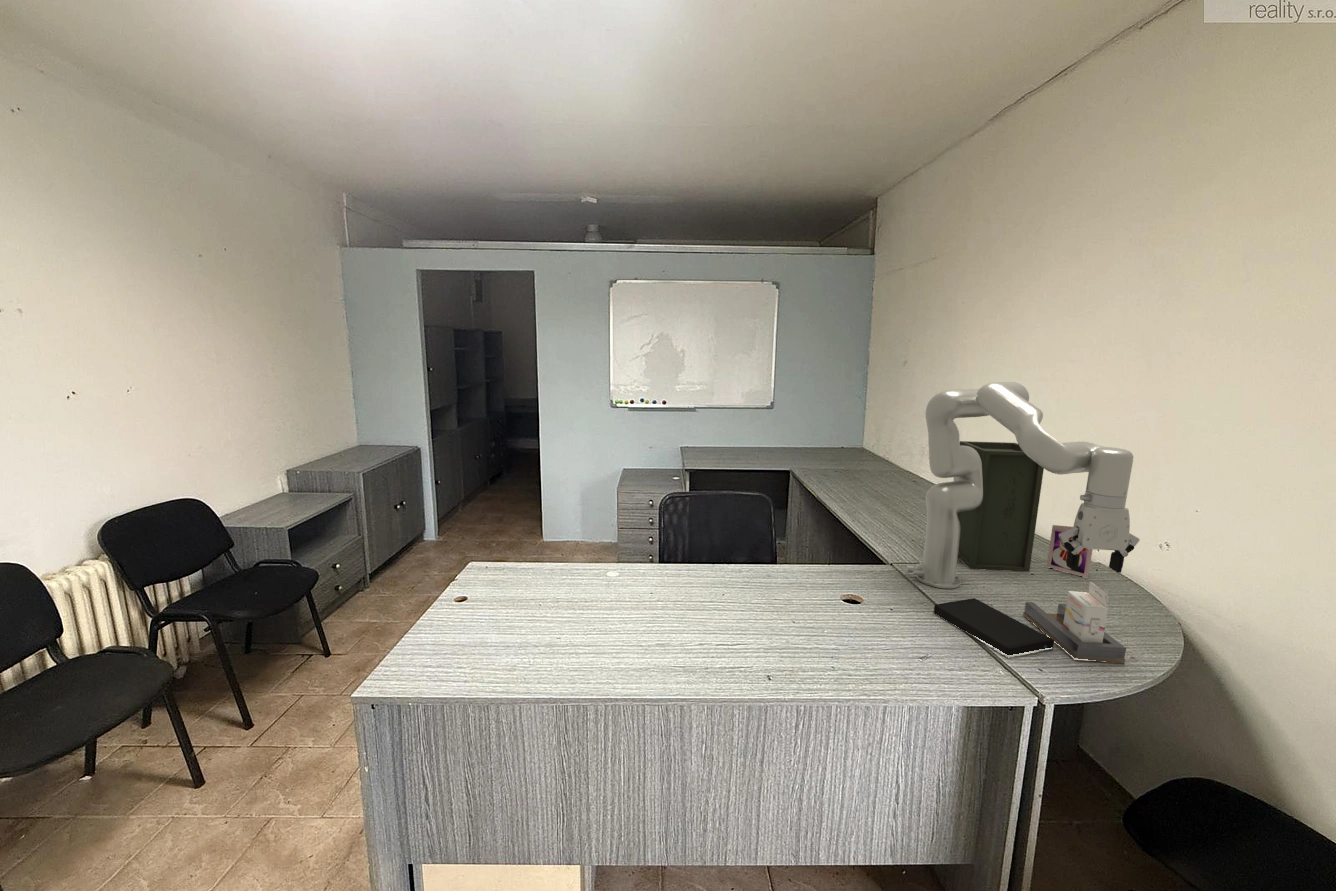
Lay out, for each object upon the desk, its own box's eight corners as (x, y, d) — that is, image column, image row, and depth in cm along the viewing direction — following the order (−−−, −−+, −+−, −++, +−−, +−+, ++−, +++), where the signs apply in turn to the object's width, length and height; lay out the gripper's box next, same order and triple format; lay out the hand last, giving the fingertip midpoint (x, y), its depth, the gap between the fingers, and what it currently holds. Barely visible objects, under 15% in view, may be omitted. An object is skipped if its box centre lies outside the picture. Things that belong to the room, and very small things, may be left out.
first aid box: (947, 548, 198) (959, 441, 191) (1000, 551, 197) (1015, 442, 189) (970, 569, 180) (984, 450, 173) (1029, 571, 178) (1046, 452, 171)
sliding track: (1074, 660, 127) (1077, 645, 127) (1022, 615, 149) (1024, 601, 148) (1124, 663, 126) (1127, 648, 126) (1065, 617, 148) (1067, 604, 147)
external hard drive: (973, 607, 154) (975, 597, 153) (1052, 650, 132) (1054, 639, 132) (933, 614, 150) (934, 604, 149) (1008, 660, 128) (1009, 648, 127)
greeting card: (1045, 568, 182) (1051, 525, 179) (1053, 563, 186) (1059, 521, 183) (1086, 579, 173) (1094, 535, 170) (1093, 574, 177) (1101, 530, 175)
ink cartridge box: (1060, 633, 138) (1068, 578, 135) (1081, 635, 137) (1090, 580, 134) (1078, 651, 130) (1088, 593, 127) (1102, 653, 129) (1111, 595, 126)
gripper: (1075, 503, 124) (1064, 574, 127) (1157, 506, 122) (1143, 577, 125) (1055, 494, 131) (1045, 561, 134) (1132, 497, 130) (1120, 565, 133)
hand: (1093, 569), depth 130 cm, fingers open, 9 cm apart
